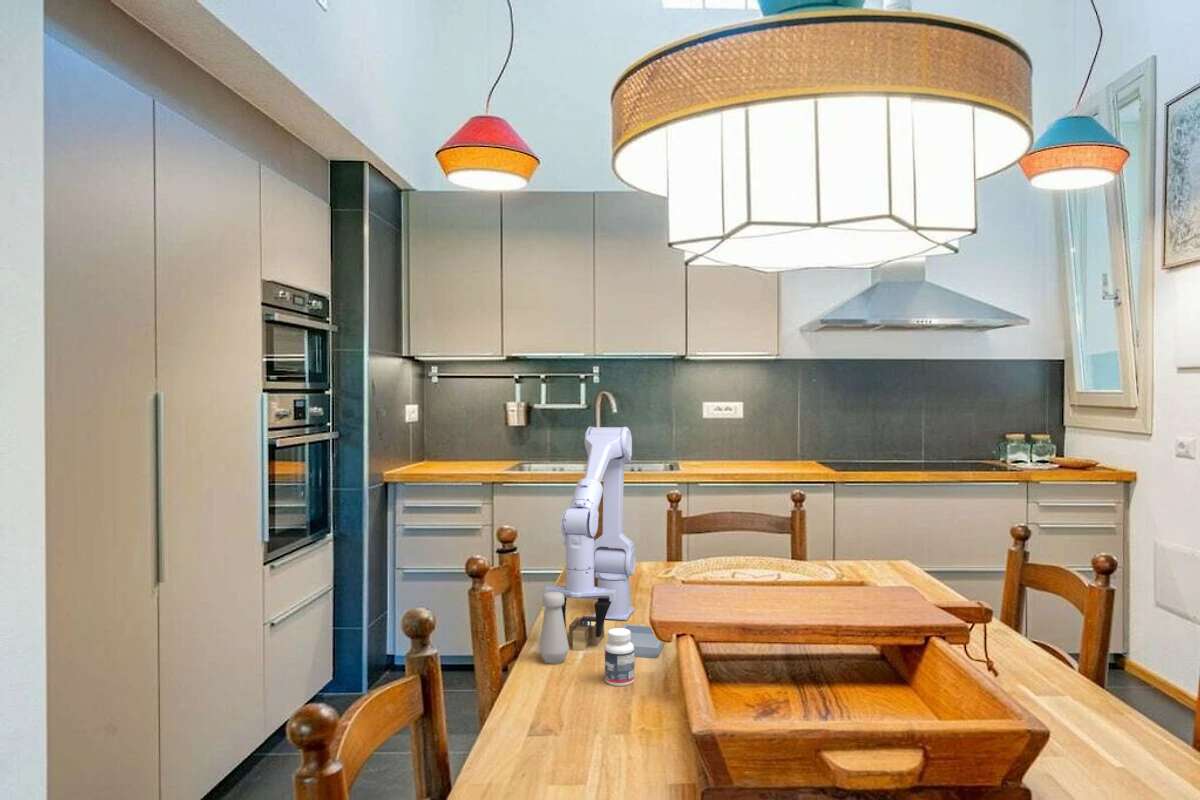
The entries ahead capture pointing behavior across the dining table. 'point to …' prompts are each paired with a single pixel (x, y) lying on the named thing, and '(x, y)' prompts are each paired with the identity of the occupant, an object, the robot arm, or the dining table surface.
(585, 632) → the wooden stool frame
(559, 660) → the salt shaker
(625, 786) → the dining table surface
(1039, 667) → the dining table surface
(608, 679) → the pill bottle
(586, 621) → the grey lever handle
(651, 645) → the tray
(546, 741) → the dining table surface
